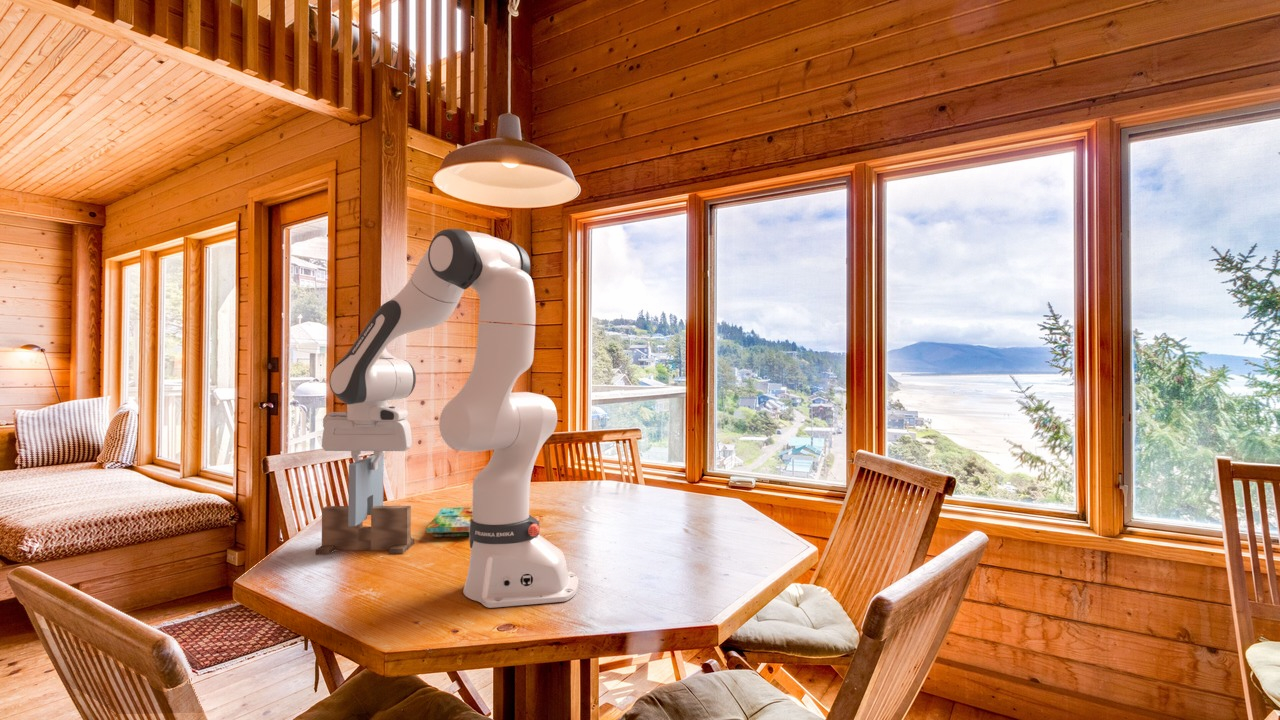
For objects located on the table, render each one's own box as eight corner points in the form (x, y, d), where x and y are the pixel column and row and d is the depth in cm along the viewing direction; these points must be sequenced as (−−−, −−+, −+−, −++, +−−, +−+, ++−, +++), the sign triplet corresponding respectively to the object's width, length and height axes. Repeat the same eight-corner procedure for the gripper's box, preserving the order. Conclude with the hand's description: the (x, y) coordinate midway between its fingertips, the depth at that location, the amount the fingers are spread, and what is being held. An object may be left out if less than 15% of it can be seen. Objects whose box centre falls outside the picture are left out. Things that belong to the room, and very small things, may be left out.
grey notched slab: (355, 526, 135) (355, 464, 135) (348, 526, 135) (348, 464, 135) (383, 508, 151) (383, 453, 151) (376, 508, 151) (377, 453, 151)
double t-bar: (414, 543, 147) (414, 503, 147) (402, 553, 139) (403, 511, 139) (332, 543, 147) (332, 503, 147) (315, 554, 139) (316, 511, 139)
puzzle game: (485, 503, 170) (474, 523, 150) (485, 520, 170) (474, 541, 150) (442, 504, 169) (426, 524, 149) (442, 521, 169) (426, 543, 149)
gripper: (316, 412, 140) (316, 471, 140) (405, 413, 140) (404, 472, 140) (329, 410, 146) (329, 467, 146) (414, 411, 147) (413, 467, 147)
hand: (367, 469), depth 143 cm, fingers closed on grey notched slab, 2 cm apart
